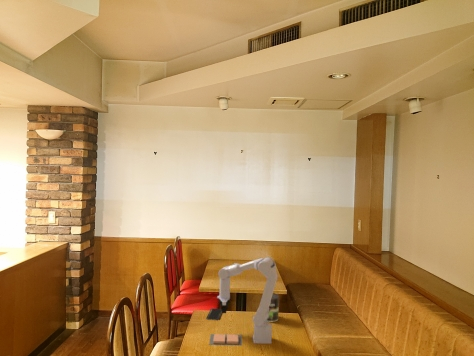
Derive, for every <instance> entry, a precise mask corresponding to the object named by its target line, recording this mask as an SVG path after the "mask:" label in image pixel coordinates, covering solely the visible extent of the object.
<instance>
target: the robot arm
mask: <svg viewBox="0 0 474 356" xmlns="http://www.w3.org/2000/svg"><path fill="white" fill-rule="evenodd" d="M276 265H277V264H276V262H275V260H274V259H273V258H272V257H270V256H266V257H261V258H258V259H253V260H250V261H248V262H246V263H242V264H240V263H236V262H234V263H233V264H231V265H226V266H224V267H222V268H221V269H219V270H218V273H217V274H218V275H217V276H218V278H219V295H217V297H216V299H219V301H218V302H219V305H220V309H222V314H226V313H227V311H228V308H229V307H228V306H229V304H230V299H231V294H230V293H231V287H230V285H231V277H235V276H238V275H241V274H242V273H243V271H247V270H251V269H255V270H256V271H259V272H260V273H261V274H262V275H263V276H264V277H265V278H266V281H265V285H264V289H263V292H262V296H261V298H260V303H259V306H258V308H257V310H256V311H255V312H256V313H255V314H254V315H253V317H252V322H253V335H252V341H253V344H272V337H273V335H272V332H273V331H272V329H273V327H272V323H271V322H267V319H268V318H269V305H270V301H271V298H272V295H273V293H274V291H275V287H276V283H277V280H278V277H279V276H278V273H277V267H276Z"/></svg>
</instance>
